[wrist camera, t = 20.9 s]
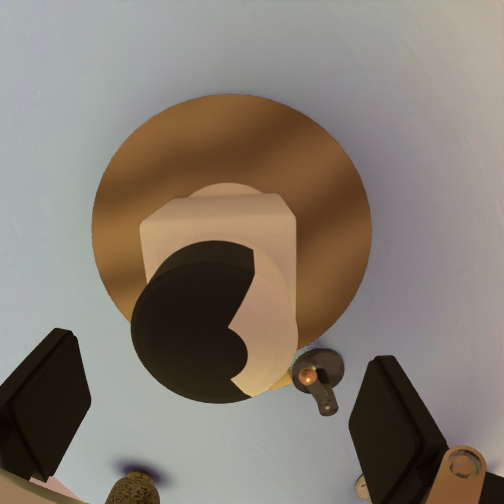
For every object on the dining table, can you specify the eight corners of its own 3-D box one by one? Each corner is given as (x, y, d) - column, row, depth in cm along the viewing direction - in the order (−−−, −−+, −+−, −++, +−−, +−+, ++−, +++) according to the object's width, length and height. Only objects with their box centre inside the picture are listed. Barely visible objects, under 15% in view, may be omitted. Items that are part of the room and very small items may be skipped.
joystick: (349, 374, 30) (365, 413, 24) (304, 395, 30) (313, 436, 25) (320, 322, 28) (336, 361, 22) (270, 348, 28) (275, 390, 23)
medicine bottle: (181, 297, 23) (135, 420, 12) (170, 198, 21) (89, 257, 9) (281, 293, 23) (310, 419, 12) (280, 192, 21) (322, 247, 9)
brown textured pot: (107, 458, 34) (92, 502, 27) (154, 460, 34) (143, 509, 26) (130, 486, 37) (119, 526, 29) (174, 488, 36) (167, 532, 29)
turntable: (65, 172, 22) (20, 181, 16) (307, 61, 20) (327, 35, 14) (173, 376, 28) (160, 422, 22) (386, 301, 26) (416, 338, 20)
